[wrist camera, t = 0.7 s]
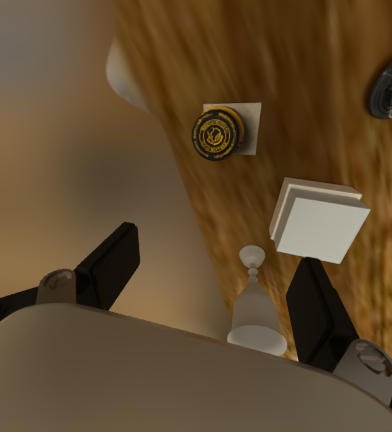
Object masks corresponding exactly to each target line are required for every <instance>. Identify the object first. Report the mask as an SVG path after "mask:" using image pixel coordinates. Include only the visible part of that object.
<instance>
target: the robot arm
mask: <svg viewBox="0 0 392 432" xmlns="http://www.w3.org/2000/svg"><path fill="white" fill-rule="evenodd" d="M139 264H140V254H139V241H138V229H137V227H136V226H135V224H134V223H129V222H124V223H122V224H121V225H120V226H119V227H118V228H117V229H116V230H115V231H114V232H113V233H112V234H111V235H110V236H109V237H108V238H107V239H105V240H104V241H103V242H102V243H101V244H100V245H99V246H98V247H97V248H96V249H95V250H94V251H93V252H92V253H91V254H90V255H89V256H87V257H86V258H85V259H84V260H83V261H82V262H81V263H80V264H79V265H78V266H77V267H76V268H75V269H74V270H70V269H59V270H55V271H53V272H51V273H49V274H47V275H46V276H44V277H43V279H42V280H41V281H40V283H39V286H38V287H35V288H31V289H28V290H25V291H21V292H18V293H15V294H12V295H8V296H5V297H2V298H0V432H392V358H391V357H390V356H389V355H388V354H387V353H386V352H385V351H384V350H382V349H381V348H380V347H379V346H377V345H375V344H374V343H372V342H369V341H367V340H363V339H360V338H359V336H358V334H357V332H356V330H355V328H354V326H353V324H352V322H351V320H350V317H349V315H348V313H347V311H346V309H345V307H344V305H343V303H342V301H341V299H340V297H339V295H338V293H337V291H336V289H335V288H333V286H332V284H331V282H330V280H329V278H328V276H327V274H326V272H325V270H324V268H323V265H322V263H321V261H320V260H319V259H318V258H313V257H308V256H307V257H305V259H303V258H302V259H301V261H300V263H299V265H298V268H297V270H296V272H295V275H294V277H293V279H292V282H291V284H290V286H289V289H288V291H287V294H286V301H287V306H288V311H289V316H290V321H291V326H292V331H293V336H294V341H295V345H296V350H297V355H298V360H299V362H297V361H293V360H290V359H287V358H283V357H280V356H276V355H273V354H269V353H265V352H262V351H258V350H254V349H251V348H247V347H243V346H240V345H236V344H232V343H229V342H225V341H221V340H217V339H214V338H210V337H206V336H203V335H199V334H195V333H191V332H188V331H184V330H180V329H176V328H172V327H169V326H165V325H161V324H157V323H153V322H150V321H145V320H142V319H138V318H134V317H130V316H126V315H123V314H119V313H114V312H111V311H109V309H110V308H111V306H112V305H113V303H114V302H115V300H116V299H117V297H118V296H119V294H120V293H121V292H122V290H123V289H124V287H125V285H126V284H127V283H128V281H129V280H130V278H131V277H132V275H133V274H134V272H135V271H136V269H137V268H138V266H139Z"/></svg>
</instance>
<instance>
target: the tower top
mask: <svg viewBox="0 0 392 432" xmlns="http://www.w3.org/2000/svg"><path fill="white" fill-rule="evenodd" d="M370 210H371V209H369V208H368V207H367V206H366V205H364V204H363V203H362V202H361V201H359V200H358V199H357V198H354V197H348V196H342V195H335V194H329V193H323V192H317V191H310V190H304V189H298V188H292V187H290V190H289V193H288V196H287V199H286V202H285V205H284V208H283V211H282V214H281V217H280V220H279V223H278V226H277V229H276V232H275V235H274V241H275V245H276V250H277V251H279V252H284V253H289V254H294V255H299V256H303V257H307V256H308V257H313V258H318V259H319V260H323V261H328V262H333V263H338V264H340V262H341V261H342V259H343V257H344V255H345V254H346V252H347V250H348V248H349V247H350V245H351V243H352V241H353V240H354V238H355V236H356V234H357V233H358V231H359V229H360V227H361V226H362V224H363V222H364V220H365V219H366V217H367V215H368V213H369V212H370Z"/></svg>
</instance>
